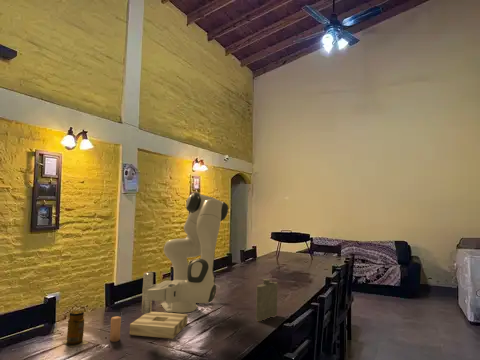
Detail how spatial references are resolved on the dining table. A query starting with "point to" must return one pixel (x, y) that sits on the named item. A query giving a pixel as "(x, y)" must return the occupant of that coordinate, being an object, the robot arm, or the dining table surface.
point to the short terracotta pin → (115, 329)
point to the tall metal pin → (146, 302)
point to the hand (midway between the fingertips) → (145, 288)
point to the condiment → (75, 329)
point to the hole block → (159, 324)
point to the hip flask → (266, 300)
